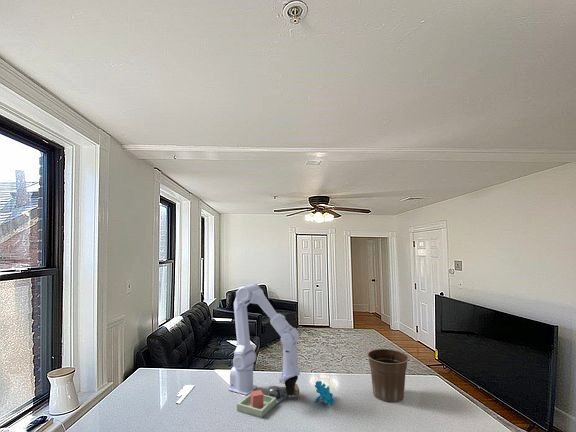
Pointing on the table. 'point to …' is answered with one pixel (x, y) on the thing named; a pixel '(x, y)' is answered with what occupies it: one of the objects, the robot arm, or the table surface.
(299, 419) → the table surface
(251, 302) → the robot arm
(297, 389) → the crank
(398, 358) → the plant pot
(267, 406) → the tray
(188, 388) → the butcher knife
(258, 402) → the block
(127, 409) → the table surface
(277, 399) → the crank base
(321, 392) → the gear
